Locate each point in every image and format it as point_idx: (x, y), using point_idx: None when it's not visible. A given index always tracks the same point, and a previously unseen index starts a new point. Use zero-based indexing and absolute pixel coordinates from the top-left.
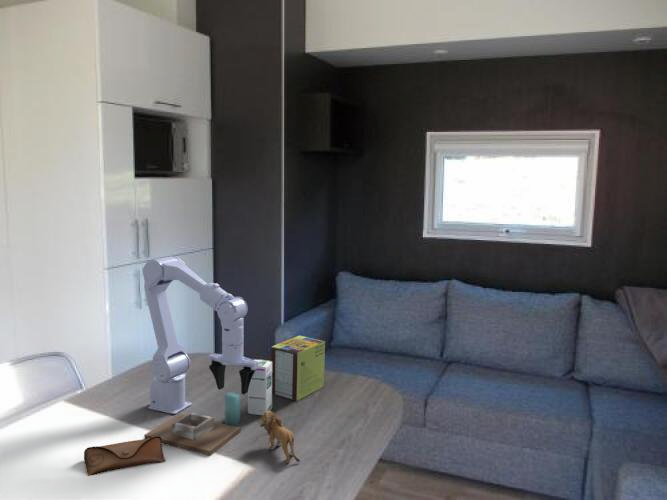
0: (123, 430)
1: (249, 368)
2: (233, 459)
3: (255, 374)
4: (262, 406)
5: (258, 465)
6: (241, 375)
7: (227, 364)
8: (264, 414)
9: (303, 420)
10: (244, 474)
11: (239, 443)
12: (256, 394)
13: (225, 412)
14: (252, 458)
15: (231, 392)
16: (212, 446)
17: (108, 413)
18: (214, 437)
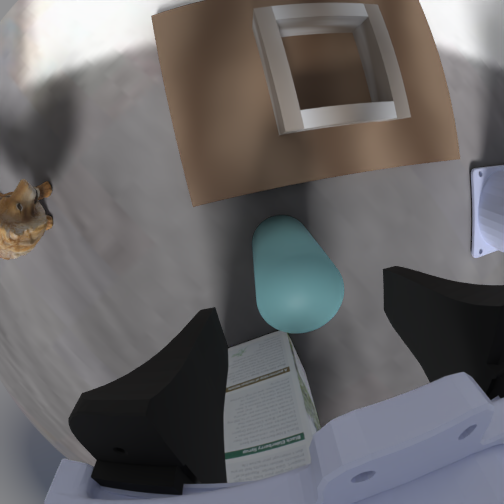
0: (479, 30)
1: (106, 474)
2: (84, 62)
3: (269, 465)
4: (233, 366)
5: (21, 101)
6: (148, 385)
7: (332, 439)
8: (7, 219)
9: (120, 377)
10: (26, 50)
11: (135, 138)
12: (257, 390)
13: (304, 230)
14: (48, 109)
15: (330, 315)
16: (166, 35)
17: None
18: (213, 79)
